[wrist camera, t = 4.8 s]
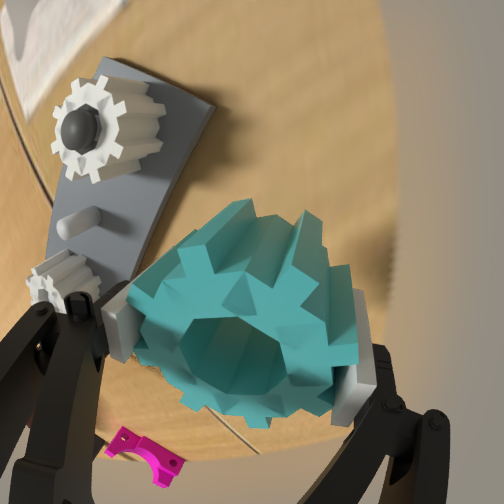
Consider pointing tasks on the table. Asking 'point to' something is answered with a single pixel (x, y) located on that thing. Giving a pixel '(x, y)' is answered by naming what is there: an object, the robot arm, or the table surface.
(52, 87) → the table surface
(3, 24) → the table surface
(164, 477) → the magenta mounting bracket
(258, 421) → the teal gear
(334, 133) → the table surface
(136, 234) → the gear board
